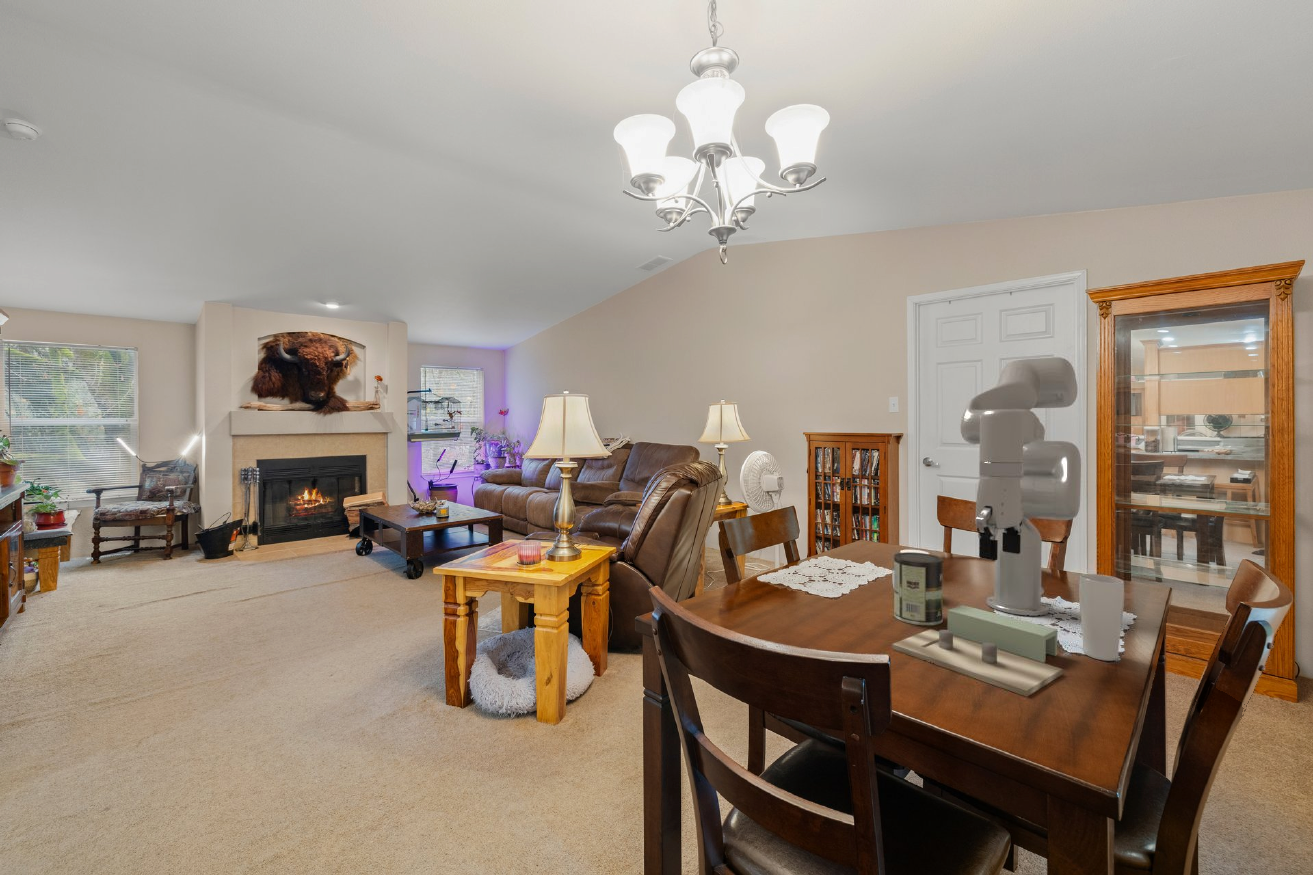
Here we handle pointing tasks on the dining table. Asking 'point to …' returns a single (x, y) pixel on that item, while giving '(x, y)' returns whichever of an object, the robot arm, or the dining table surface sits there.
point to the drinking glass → (1101, 615)
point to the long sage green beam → (1003, 632)
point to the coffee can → (918, 588)
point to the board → (979, 661)
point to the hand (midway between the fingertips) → (1000, 555)
